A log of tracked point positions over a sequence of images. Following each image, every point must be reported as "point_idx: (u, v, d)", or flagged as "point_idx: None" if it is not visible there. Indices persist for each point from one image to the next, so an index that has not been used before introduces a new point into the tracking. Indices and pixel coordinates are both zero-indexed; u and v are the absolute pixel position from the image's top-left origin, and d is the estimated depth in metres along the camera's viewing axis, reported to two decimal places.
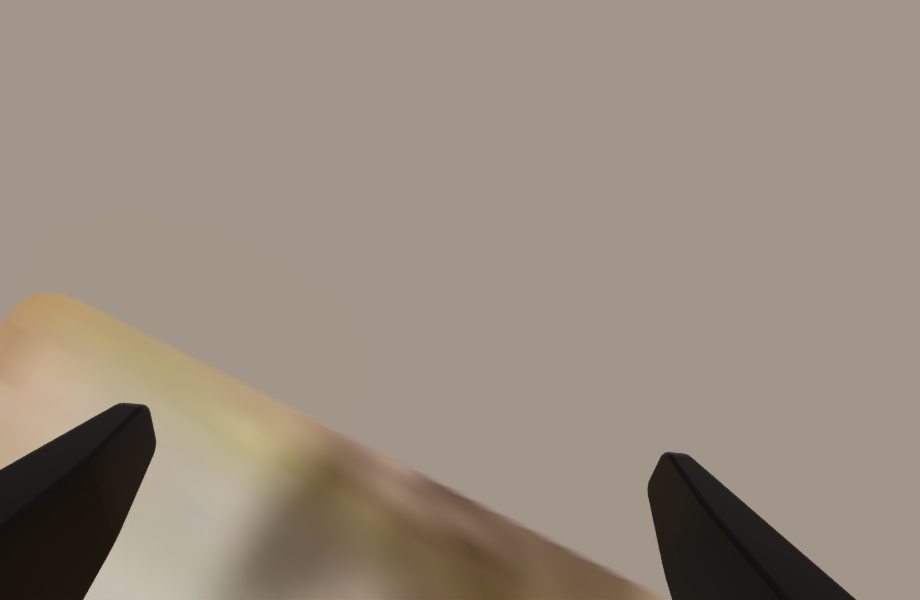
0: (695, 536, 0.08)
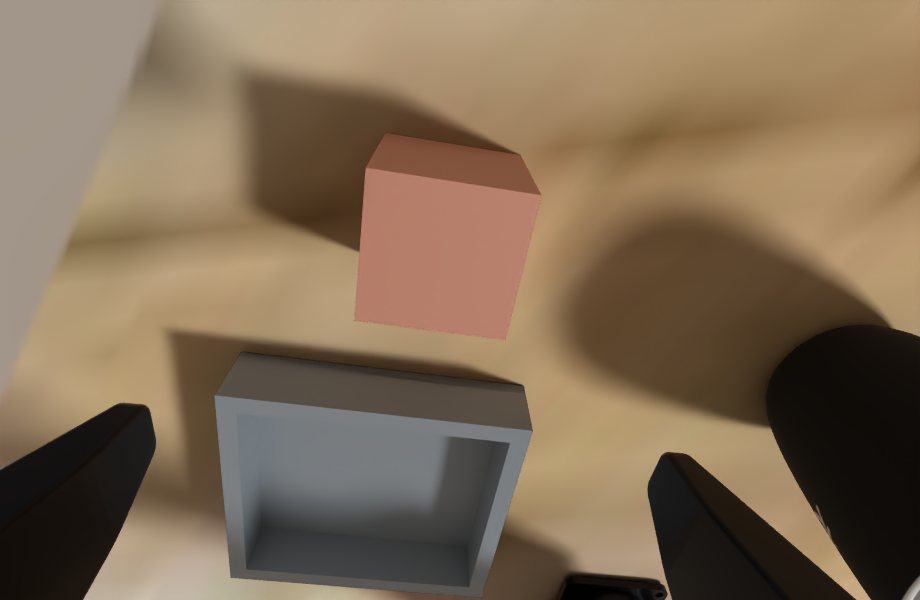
0: (695, 536, 0.08)
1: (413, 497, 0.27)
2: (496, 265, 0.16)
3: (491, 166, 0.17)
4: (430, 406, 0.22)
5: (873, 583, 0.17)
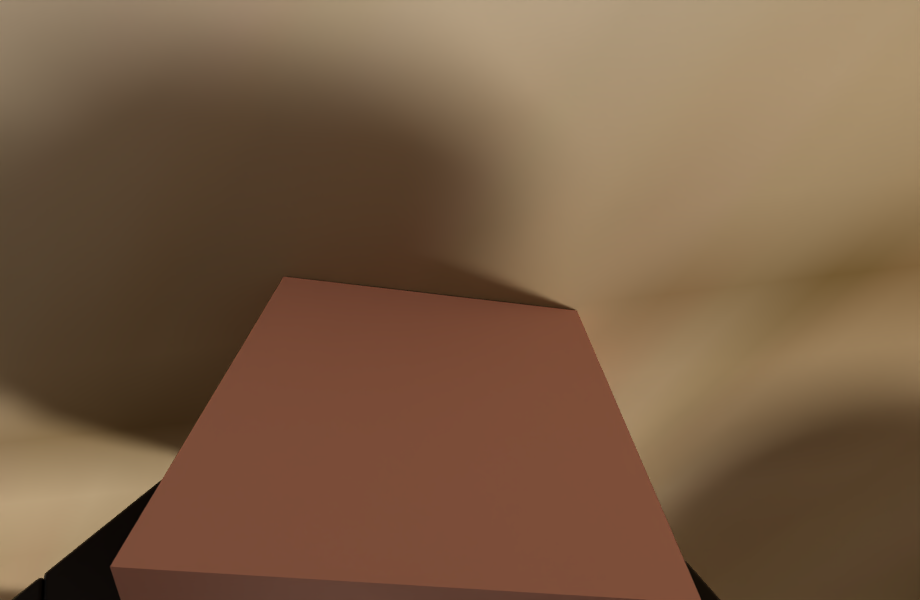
0: None
1: None
2: None
3: (525, 402, 0.07)
4: None
5: None
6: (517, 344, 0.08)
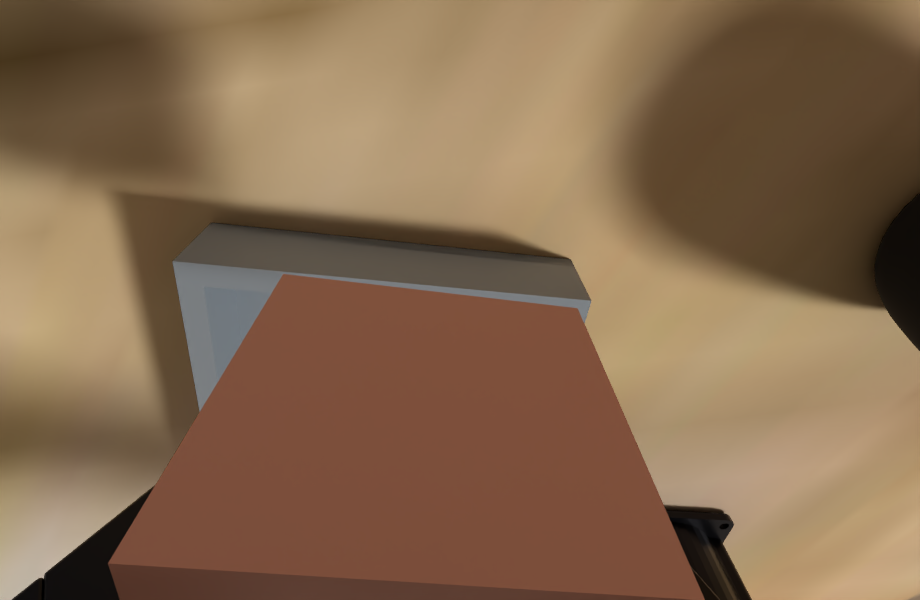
0: None
1: None
2: None
3: (525, 399, 0.06)
4: (457, 276, 0.17)
5: None
6: (518, 341, 0.08)
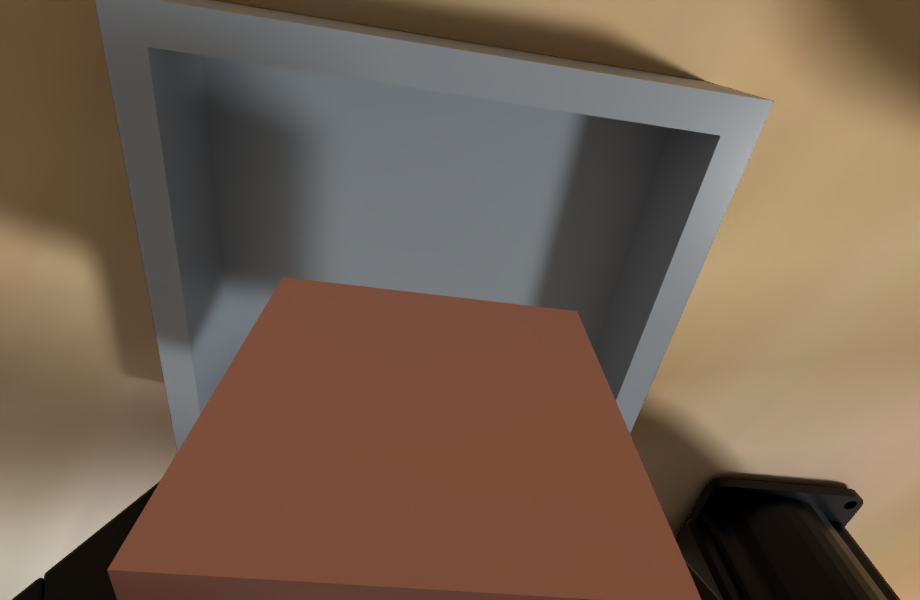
0: None
1: None
2: None
3: (525, 403, 0.06)
4: (556, 62, 0.11)
5: None
6: (517, 345, 0.08)
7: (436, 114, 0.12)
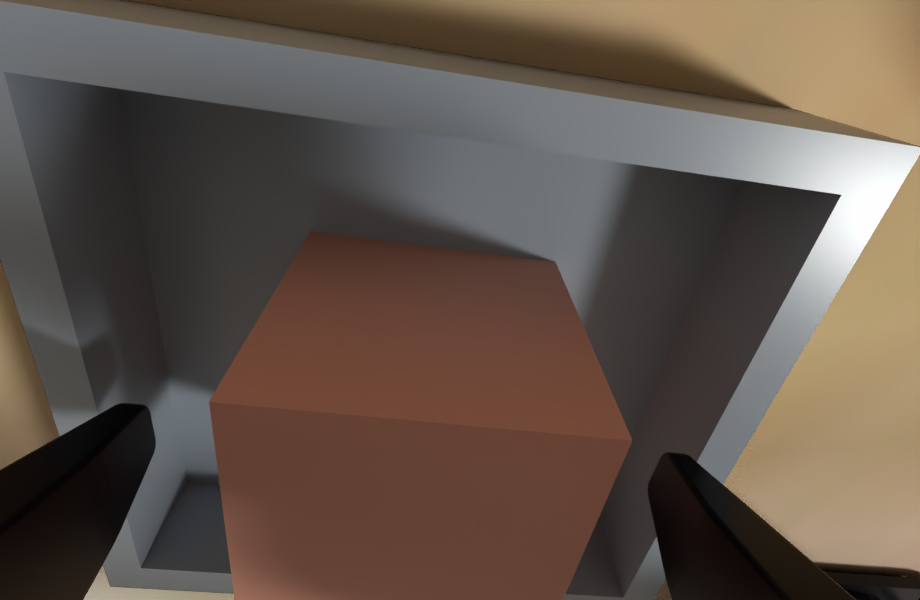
0: (695, 536, 0.08)
1: None
2: (525, 553, 0.07)
3: (508, 321, 0.08)
4: (607, 91, 0.07)
5: None
6: (504, 283, 0.09)
7: (436, 154, 0.09)
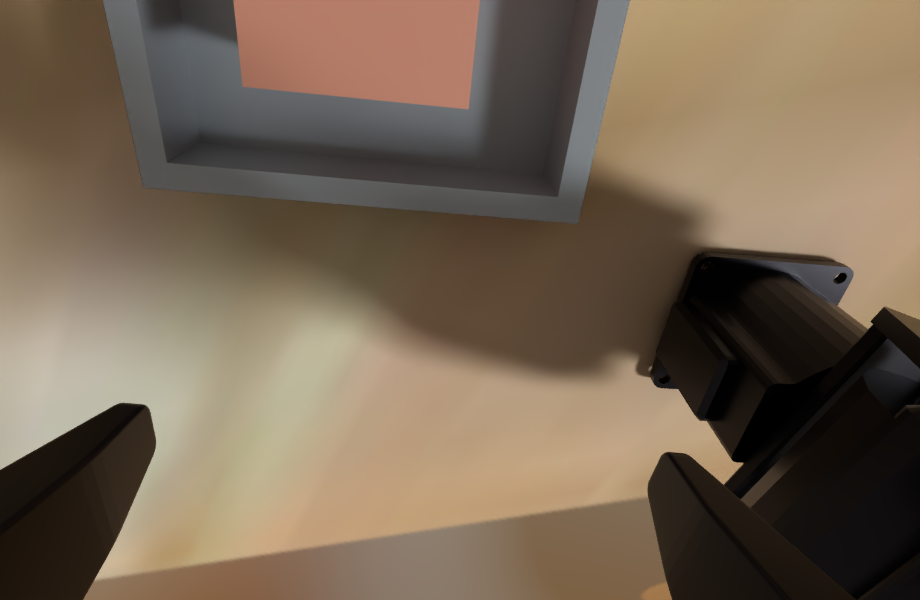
0: (695, 536, 0.08)
1: None
2: None
3: None
4: None
5: None
6: None
7: None
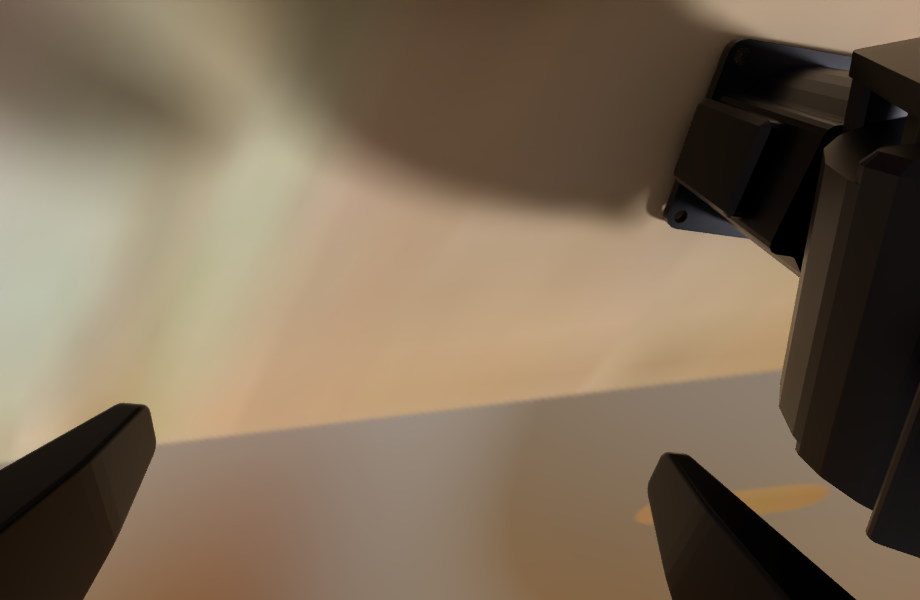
0: (695, 536, 0.08)
1: None
2: None
3: None
4: None
5: None
6: None
7: None
